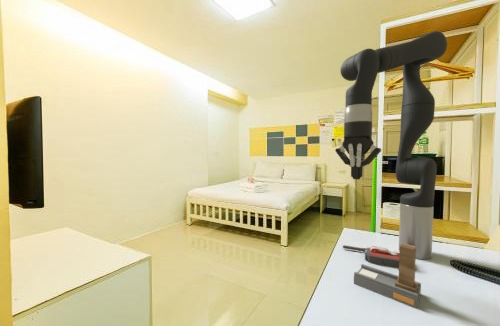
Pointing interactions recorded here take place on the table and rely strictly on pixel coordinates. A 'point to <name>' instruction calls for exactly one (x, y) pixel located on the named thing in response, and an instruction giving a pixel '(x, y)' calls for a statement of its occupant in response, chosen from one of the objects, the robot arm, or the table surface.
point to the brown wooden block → (407, 268)
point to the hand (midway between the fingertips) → (356, 179)
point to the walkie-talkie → (379, 255)
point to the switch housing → (385, 285)
